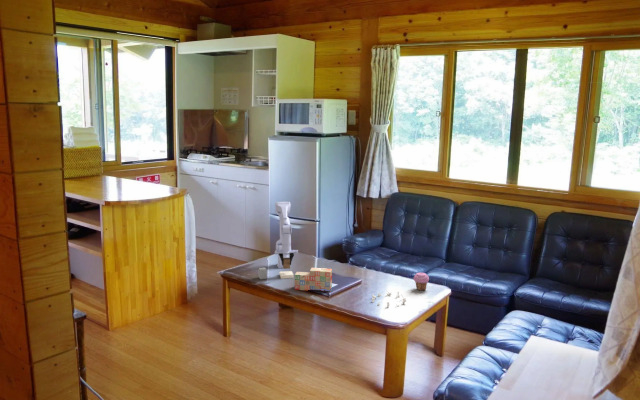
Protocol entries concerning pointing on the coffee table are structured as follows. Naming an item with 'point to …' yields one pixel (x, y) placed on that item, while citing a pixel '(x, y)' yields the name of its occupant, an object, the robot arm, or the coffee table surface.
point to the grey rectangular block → (262, 273)
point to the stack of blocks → (314, 279)
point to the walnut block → (286, 263)
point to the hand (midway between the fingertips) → (286, 264)
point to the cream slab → (286, 274)
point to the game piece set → (388, 295)
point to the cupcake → (421, 281)
